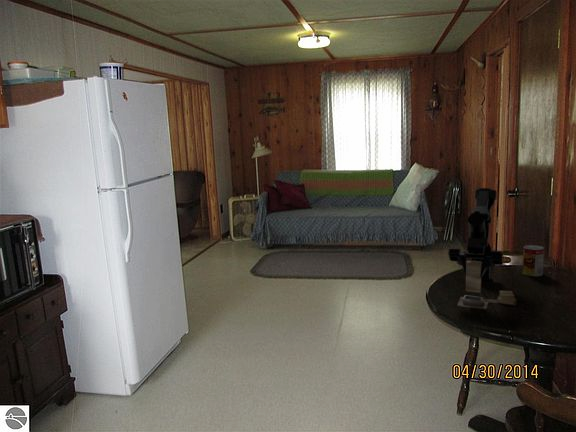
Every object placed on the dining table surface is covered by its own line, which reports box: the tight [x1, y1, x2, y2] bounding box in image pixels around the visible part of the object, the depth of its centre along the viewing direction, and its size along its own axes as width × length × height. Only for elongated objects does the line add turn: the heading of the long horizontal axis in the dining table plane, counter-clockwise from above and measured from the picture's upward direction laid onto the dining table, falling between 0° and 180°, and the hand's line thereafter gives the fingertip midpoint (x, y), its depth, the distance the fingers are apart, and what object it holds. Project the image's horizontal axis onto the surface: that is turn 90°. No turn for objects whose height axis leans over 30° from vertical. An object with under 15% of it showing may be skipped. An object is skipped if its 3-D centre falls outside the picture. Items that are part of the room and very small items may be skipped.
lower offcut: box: [498, 294, 514, 305], centre depth 174 cm, size 6×5×2 cm
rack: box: [456, 294, 517, 310], centre depth 174 cm, size 14×19×3 cm
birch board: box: [465, 259, 482, 294], centre depth 172 cm, size 3×5×11 cm, turn 62°
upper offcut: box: [498, 290, 515, 300], centre depth 174 cm, size 5×4×2 cm
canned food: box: [522, 244, 545, 277], centre depth 204 cm, size 8×8×12 cm
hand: (473, 276), depth 171 cm, fingers closed on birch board, 5 cm apart
